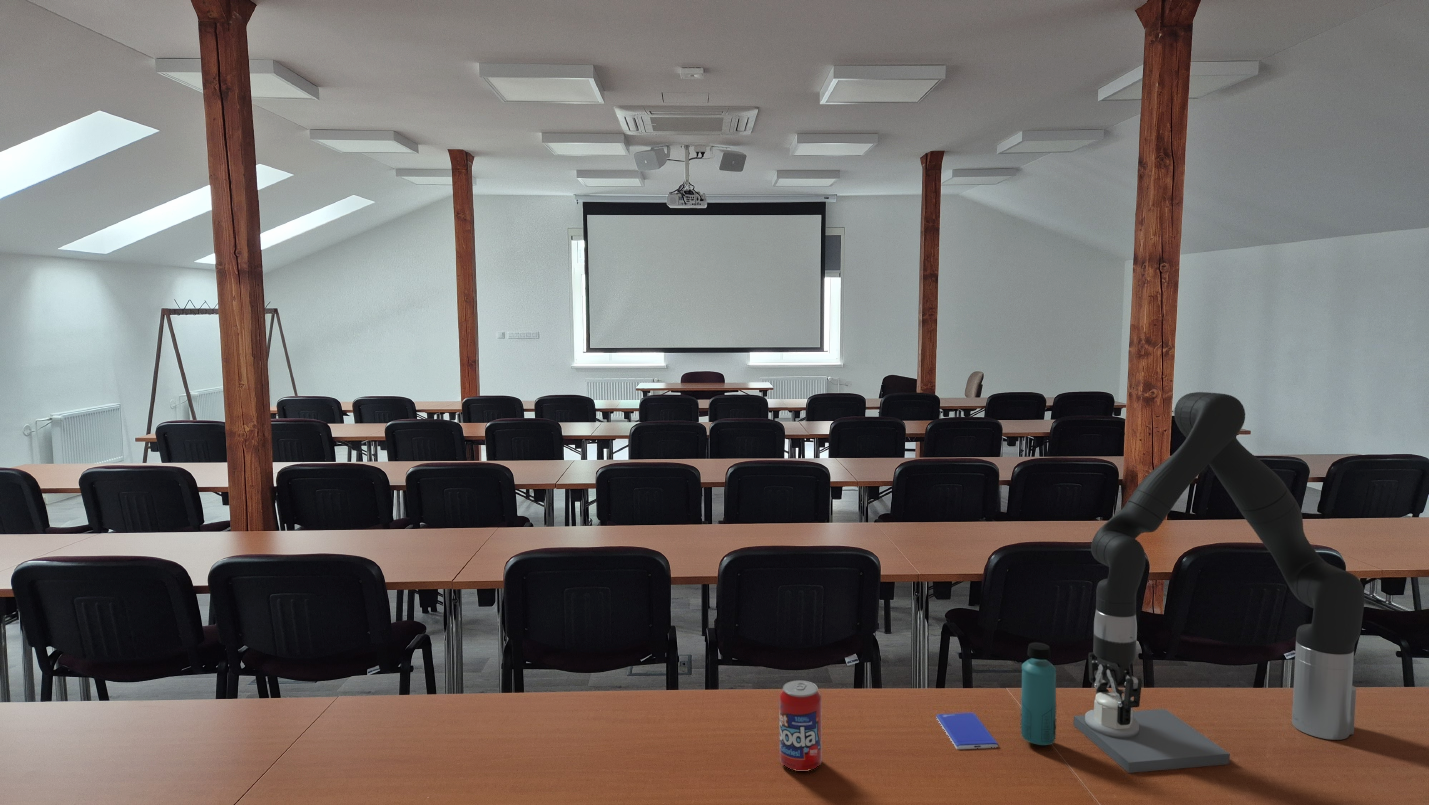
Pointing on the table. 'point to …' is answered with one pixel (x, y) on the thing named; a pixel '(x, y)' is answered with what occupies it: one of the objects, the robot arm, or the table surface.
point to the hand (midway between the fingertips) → (1112, 715)
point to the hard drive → (966, 731)
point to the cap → (1108, 710)
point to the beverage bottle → (1038, 696)
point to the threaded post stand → (1153, 742)
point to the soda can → (800, 725)
